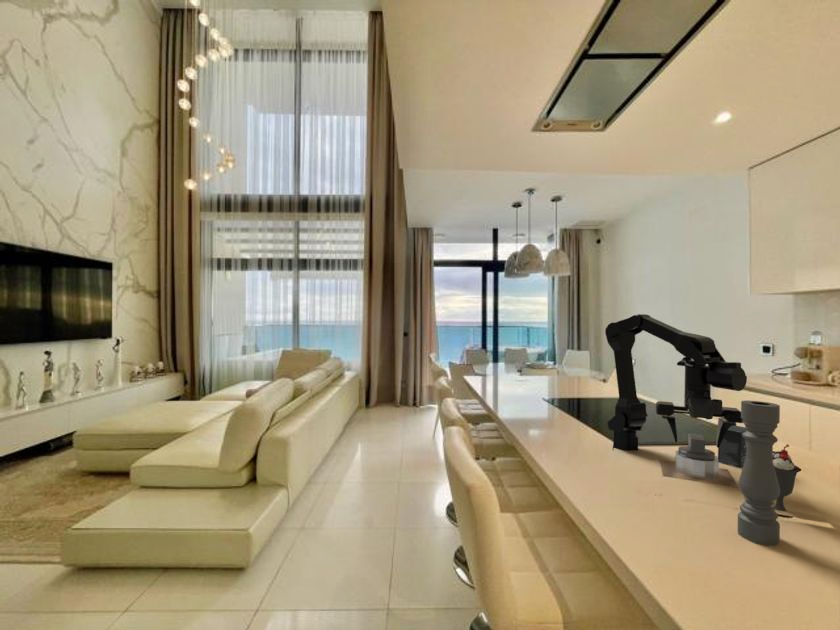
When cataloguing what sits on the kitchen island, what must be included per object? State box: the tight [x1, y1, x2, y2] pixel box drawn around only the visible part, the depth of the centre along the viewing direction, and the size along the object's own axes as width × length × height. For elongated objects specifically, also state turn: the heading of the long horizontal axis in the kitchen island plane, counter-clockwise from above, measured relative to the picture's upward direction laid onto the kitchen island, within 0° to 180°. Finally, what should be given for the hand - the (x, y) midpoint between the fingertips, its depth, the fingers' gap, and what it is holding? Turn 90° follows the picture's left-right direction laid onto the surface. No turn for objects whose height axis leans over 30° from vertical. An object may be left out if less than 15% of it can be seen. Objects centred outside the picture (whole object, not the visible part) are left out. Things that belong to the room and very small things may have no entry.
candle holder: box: [737, 400, 781, 547], centre depth 81 cm, size 6×6×25 cm
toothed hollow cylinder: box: [674, 450, 720, 479], centre depth 112 cm, size 9×9×4 cm
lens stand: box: [659, 459, 740, 489], centre depth 112 cm, size 16×14×1 cm
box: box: [717, 425, 747, 469], centre depth 121 cm, size 8×6×11 cm
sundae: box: [772, 443, 802, 519], centre depth 91 cm, size 7×7×15 cm
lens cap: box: [677, 433, 716, 460], centre depth 112 cm, size 8×8×8 cm
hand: (696, 444), depth 112 cm, fingers open, 9 cm apart
